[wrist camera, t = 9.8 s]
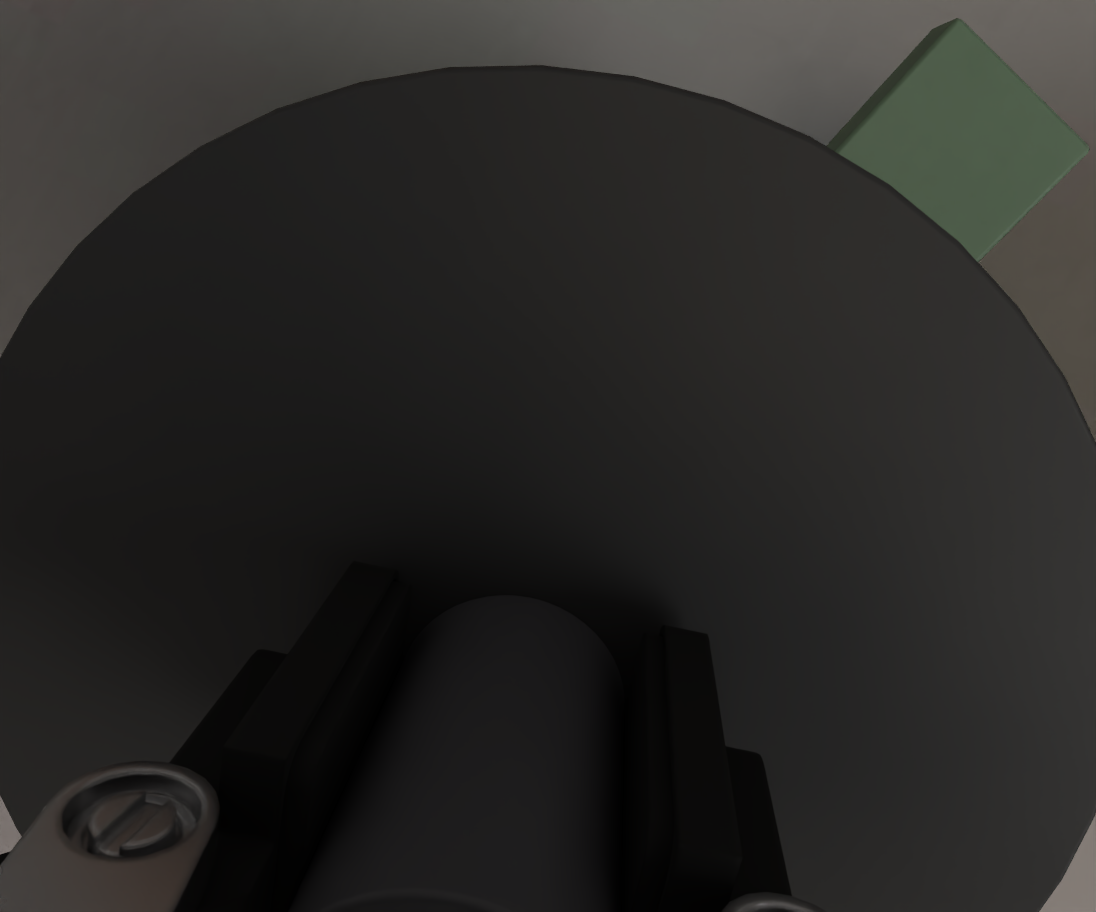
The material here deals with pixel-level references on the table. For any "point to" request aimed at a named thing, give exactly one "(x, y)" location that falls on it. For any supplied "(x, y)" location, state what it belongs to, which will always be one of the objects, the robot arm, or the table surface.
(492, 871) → the lid
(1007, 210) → the cooker
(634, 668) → the robot arm
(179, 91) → the table surface
